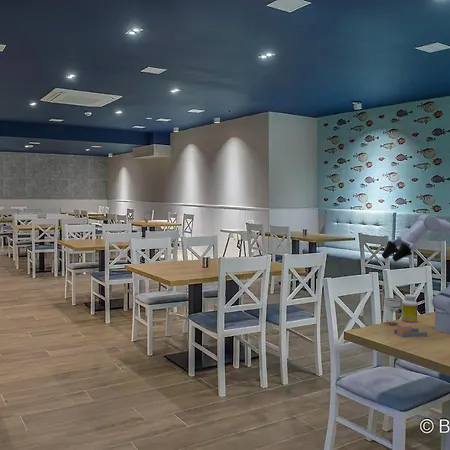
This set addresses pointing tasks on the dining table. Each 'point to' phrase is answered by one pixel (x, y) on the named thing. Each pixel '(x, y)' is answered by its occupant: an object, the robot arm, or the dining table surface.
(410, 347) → the dining table surface
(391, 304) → the wineglass
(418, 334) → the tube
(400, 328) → the block
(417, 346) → the dining table surface
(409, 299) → the supplement bottle
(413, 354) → the dining table surface
